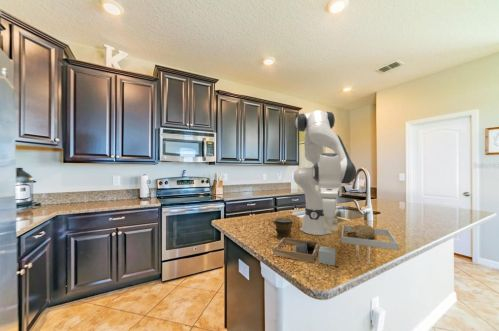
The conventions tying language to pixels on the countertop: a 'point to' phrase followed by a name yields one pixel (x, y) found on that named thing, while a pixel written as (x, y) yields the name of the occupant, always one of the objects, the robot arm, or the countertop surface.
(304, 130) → the robot arm
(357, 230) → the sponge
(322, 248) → the slate block
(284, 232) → the ceramic cup
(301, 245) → the chocolate cake
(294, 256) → the oak cake frame
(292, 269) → the countertop surface
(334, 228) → the maple block
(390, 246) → the grey square frame
